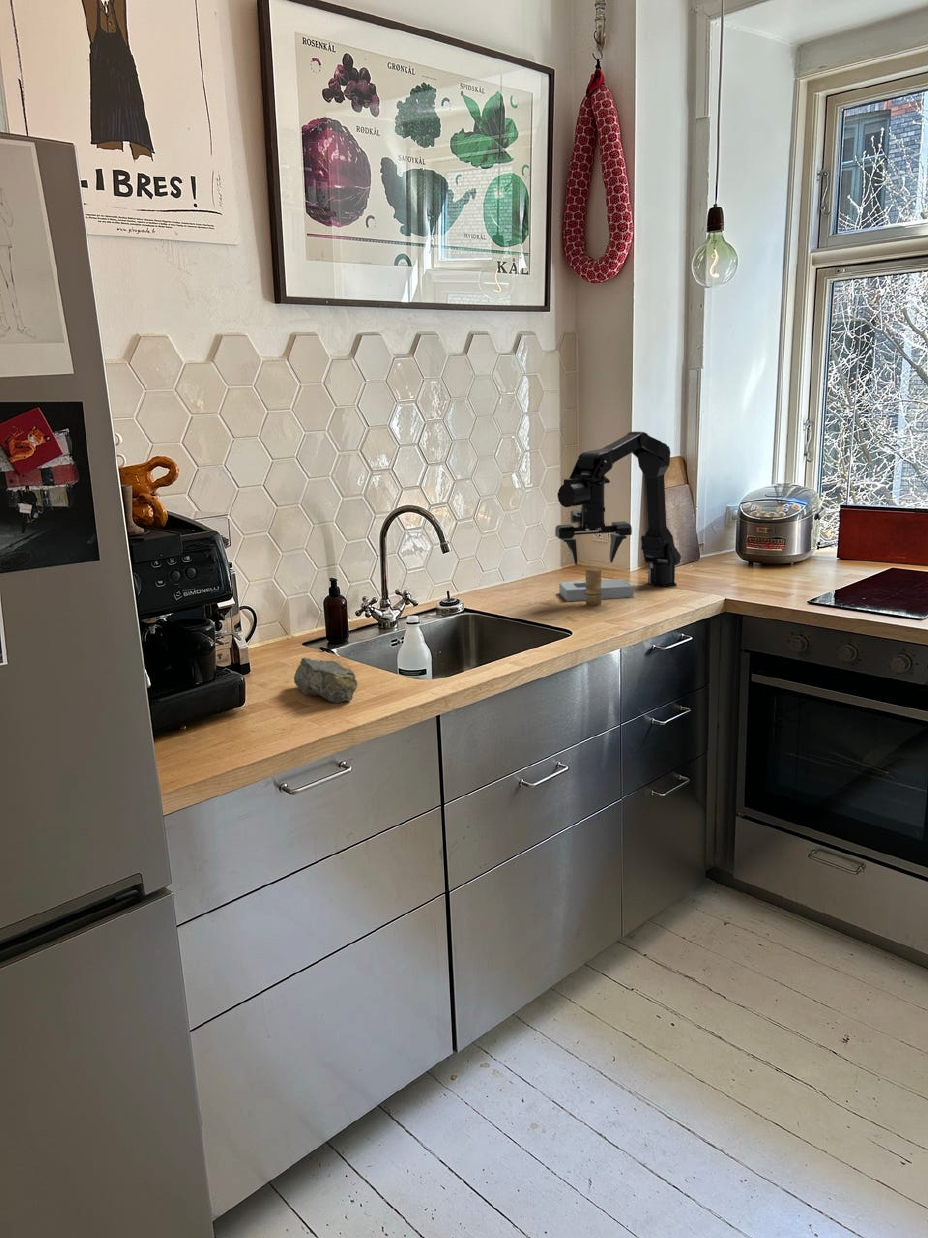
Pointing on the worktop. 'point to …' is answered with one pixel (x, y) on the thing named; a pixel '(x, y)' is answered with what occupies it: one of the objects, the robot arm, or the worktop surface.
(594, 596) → the peg
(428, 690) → the worktop surface
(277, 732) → the worktop surface
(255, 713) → the worktop surface
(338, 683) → the rock
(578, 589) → the board
